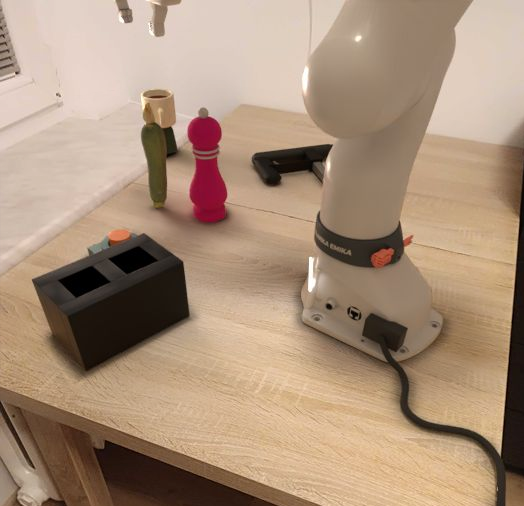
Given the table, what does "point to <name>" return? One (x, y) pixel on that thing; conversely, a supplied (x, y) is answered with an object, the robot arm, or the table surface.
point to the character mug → (163, 113)
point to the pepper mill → (206, 169)
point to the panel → (102, 245)
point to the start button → (118, 236)
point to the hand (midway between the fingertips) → (141, 28)
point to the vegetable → (155, 157)
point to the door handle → (291, 161)
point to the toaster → (113, 299)
